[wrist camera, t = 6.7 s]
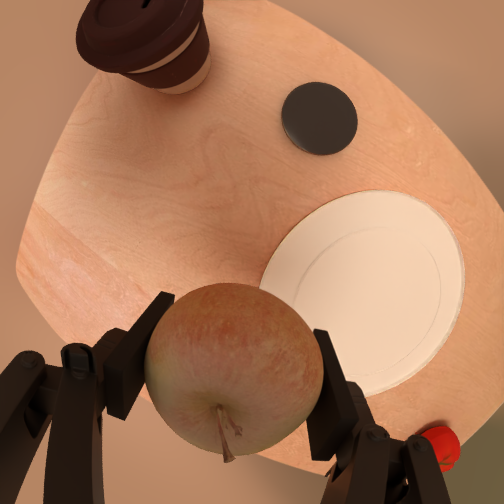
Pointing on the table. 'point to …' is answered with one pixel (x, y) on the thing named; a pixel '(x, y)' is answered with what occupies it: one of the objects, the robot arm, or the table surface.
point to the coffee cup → (147, 41)
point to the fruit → (233, 369)
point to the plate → (373, 283)
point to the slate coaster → (319, 118)
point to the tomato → (444, 446)
